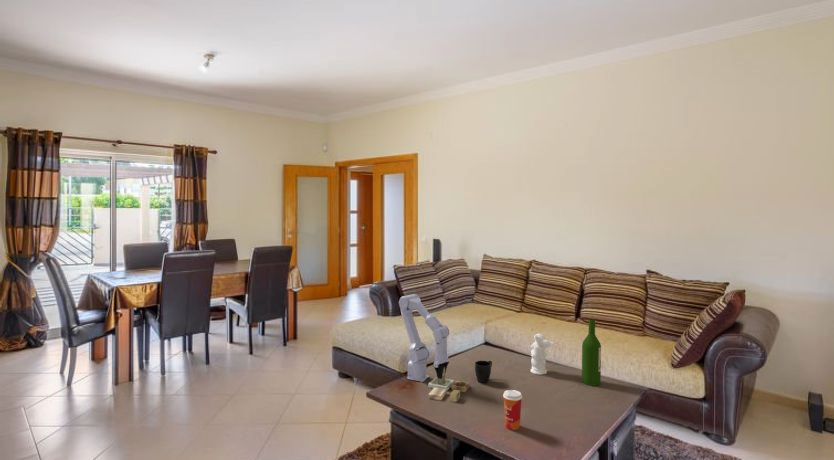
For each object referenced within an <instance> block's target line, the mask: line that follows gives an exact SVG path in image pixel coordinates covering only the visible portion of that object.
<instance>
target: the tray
mask: <svg viewBox="0 0 834 460" xmlns="http://www.w3.org/2000/svg"><path fill="white" fill-rule="evenodd" d="M454 383H455V380H454V379H449V378H445V384H438V378H437V376H435V377H434V378H433V379H432V380H430V381H429V382H428V383H427V388H428V389H432V390H433V389H434V388H440V389H446V392H448V391H449V389H450V388H452V385H453V384H454Z"/></svg>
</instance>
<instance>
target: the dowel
mask: <svg viewBox="0 0 834 460" xmlns="http://www.w3.org/2000/svg"><path fill="white" fill-rule="evenodd" d="M445 379H446V373H445V367H444V369H443V375H442V379H439V378H438V384H445Z"/></svg>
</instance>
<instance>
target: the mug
mask: <svg viewBox="0 0 834 460" xmlns="http://www.w3.org/2000/svg"><path fill="white" fill-rule="evenodd" d="M492 366H493V361H492V360H488V361H487V360H477V361H475V363H474V372H475V377H476V380H477V383H479V384H488V383H489V381H490V377H491V374H492V373H491V372H492Z"/></svg>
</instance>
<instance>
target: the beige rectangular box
mask: <svg viewBox="0 0 834 460" xmlns="http://www.w3.org/2000/svg"><path fill="white" fill-rule="evenodd" d="M446 395H447V391H446V389H440V388H434V389H433V388H432V390H430V392H429V393H428V399H429V400H435V401H442V400H443V398H444V397H445V396H446Z"/></svg>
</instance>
